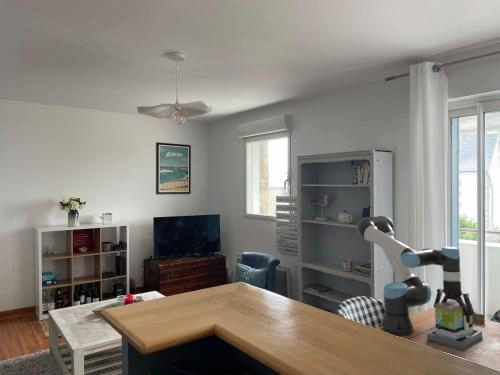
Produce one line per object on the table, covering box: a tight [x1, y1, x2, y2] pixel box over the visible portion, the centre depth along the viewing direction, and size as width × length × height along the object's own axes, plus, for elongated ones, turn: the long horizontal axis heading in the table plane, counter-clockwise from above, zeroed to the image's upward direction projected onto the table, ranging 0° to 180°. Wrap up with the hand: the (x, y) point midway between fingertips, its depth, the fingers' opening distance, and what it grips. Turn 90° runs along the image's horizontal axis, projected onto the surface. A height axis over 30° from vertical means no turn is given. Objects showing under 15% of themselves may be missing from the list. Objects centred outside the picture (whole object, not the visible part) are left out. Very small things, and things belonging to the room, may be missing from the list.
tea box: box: [434, 299, 474, 340], centre depth 180 cm, size 15×10×15 cm, turn 121°
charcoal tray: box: [426, 328, 483, 352], centre depth 179 cm, size 16×21×4 cm
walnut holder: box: [472, 312, 486, 325], centre depth 197 cm, size 12×19×5 cm, turn 127°
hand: (454, 326), depth 180 cm, fingers open, 10 cm apart
